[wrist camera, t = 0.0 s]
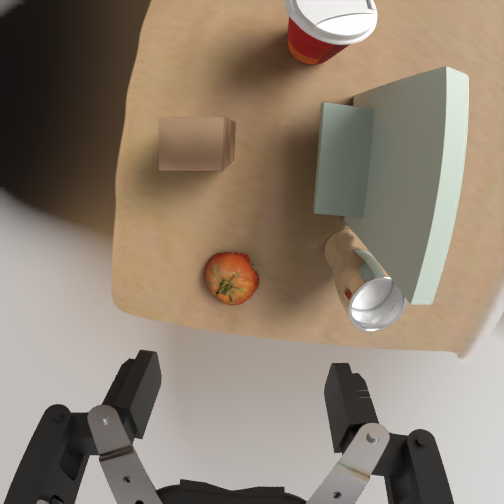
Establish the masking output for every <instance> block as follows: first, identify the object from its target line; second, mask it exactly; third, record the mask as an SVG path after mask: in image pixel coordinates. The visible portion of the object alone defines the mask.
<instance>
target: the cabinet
mask: <svg viewBox="0 0 504 504" xmlns="http://www.w3.org/2000/svg"><path fill="white" fill-rule="evenodd" d="M235 124H236V122H234V121H232V120H230V119H228V118H225V117H176V118H159V171H223V170H224V169H225V168H226V167H227V166H228V165H229V164H230V163H231V162H232V161H233V160H234V148H235Z"/></svg>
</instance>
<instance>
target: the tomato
mask: <svg viewBox="0 0 504 504" xmlns="http://www.w3.org/2000/svg"><path fill="white" fill-rule="evenodd" d="M249 262H250V259H249V257H248V255H246V254H239V253H234V252H233V253H231V252H230V253H228V252H224V253H218V254H216V255H214V256H213V257H212V258H211V259H210V260H209V262H208V263H207V266H206V268H205V281H206V284H207V286H208V289H209V291H210V292H211V293H212V294H213V295H214V296H215V297H216V298H218V299H219V300H221V301H223V302H224V303H226V304H229V305H238V304H241V303H243V302H245V301H247V300H248V299H249V298H250V297H251V296H252V295H253V293H254V292H255V290H256V289H257V288H258V285H259V275H258V274H257V272H254V270H253V268H252V267H251V266H250V264H249ZM253 265H254V264H253Z"/></svg>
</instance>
